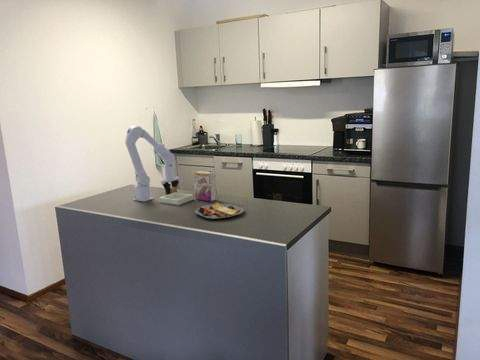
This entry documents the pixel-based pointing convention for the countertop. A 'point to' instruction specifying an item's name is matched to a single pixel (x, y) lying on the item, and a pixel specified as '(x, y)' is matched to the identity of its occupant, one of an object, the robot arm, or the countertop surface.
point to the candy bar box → (205, 186)
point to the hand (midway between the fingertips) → (171, 193)
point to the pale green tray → (175, 198)
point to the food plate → (218, 210)
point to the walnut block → (172, 190)
